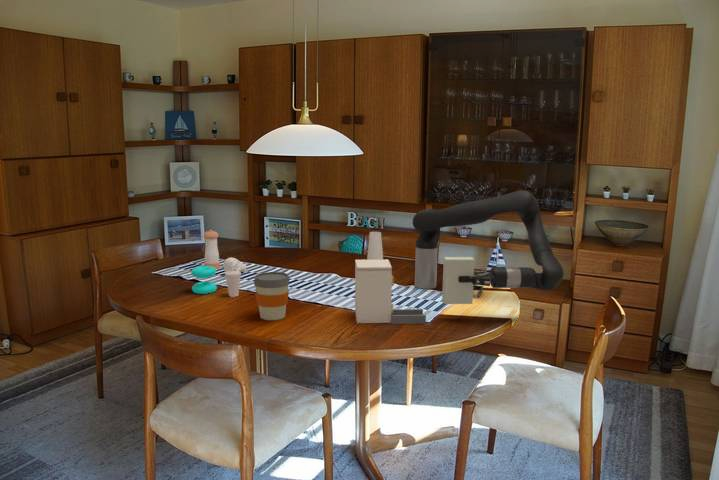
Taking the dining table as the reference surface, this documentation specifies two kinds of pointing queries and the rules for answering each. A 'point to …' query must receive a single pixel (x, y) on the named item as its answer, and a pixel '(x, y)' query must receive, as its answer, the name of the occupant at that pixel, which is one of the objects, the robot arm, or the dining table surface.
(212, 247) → the salt shaker
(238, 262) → the white lumpy piece
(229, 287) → the smoothie
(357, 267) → the hinge cabinet
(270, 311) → the reusable coffee cup
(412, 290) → the dining table surface
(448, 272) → the door panel
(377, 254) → the champagne flute
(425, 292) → the dining table surface
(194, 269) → the donuts
